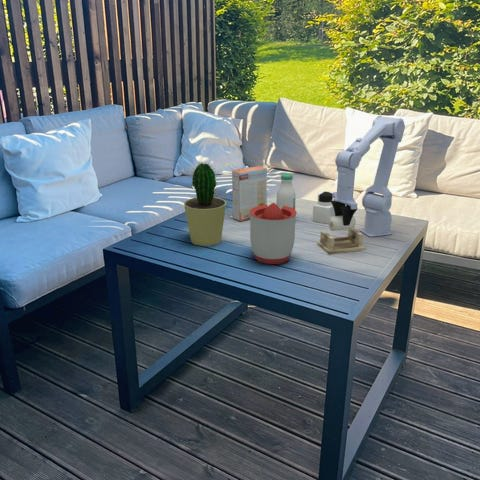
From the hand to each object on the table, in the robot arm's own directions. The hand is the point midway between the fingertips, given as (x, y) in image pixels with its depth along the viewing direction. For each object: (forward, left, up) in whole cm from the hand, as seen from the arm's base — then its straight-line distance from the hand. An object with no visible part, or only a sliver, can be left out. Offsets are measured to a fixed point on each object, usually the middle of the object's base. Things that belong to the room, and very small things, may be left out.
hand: (342, 222), depth 181 cm
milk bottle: (+9, -31, -10) cm, 34 cm away
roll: (0, 0, -2) cm, 3 cm away
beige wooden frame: (0, 0, -9) cm, 9 cm away
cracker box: (+21, -41, -10) cm, 47 cm away
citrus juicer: (+27, +1, -10) cm, 29 cm away
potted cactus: (+45, -21, -10) cm, 51 cm away
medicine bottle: (-7, -28, -10) cm, 30 cm away
